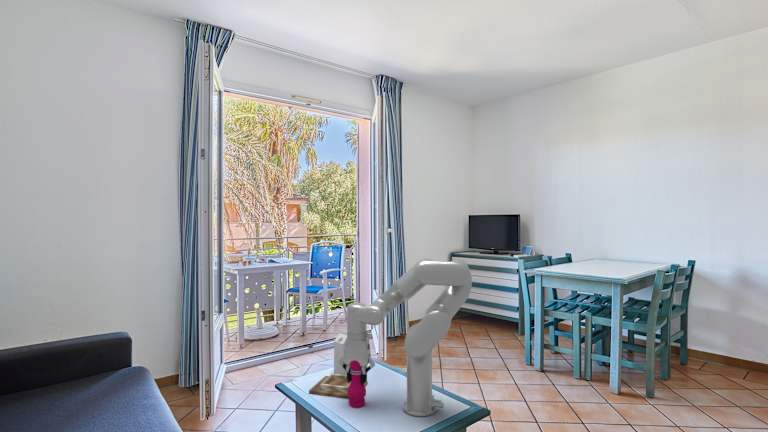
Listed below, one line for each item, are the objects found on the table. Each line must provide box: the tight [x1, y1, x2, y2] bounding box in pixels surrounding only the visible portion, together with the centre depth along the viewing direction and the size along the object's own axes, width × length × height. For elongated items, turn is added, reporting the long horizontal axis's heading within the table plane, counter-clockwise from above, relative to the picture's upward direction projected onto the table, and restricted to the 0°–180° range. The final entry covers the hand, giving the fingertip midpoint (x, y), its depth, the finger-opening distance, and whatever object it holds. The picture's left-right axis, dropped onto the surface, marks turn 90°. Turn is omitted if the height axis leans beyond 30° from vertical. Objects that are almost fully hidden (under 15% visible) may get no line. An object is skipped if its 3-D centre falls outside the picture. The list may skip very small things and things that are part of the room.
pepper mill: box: [347, 360, 367, 409], centre depth 152 cm, size 7×7×20 cm
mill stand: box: [308, 373, 369, 400], centre depth 166 cm, size 20×16×3 cm
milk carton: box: [333, 330, 347, 375], centre depth 182 cm, size 7×7×19 cm
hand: (356, 382), depth 152 cm, fingers closed on pepper mill, 5 cm apart
